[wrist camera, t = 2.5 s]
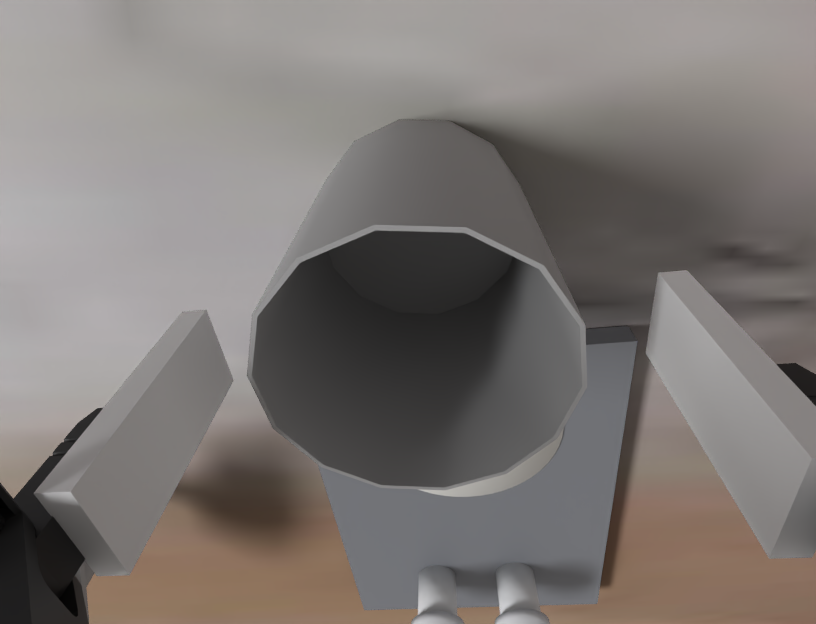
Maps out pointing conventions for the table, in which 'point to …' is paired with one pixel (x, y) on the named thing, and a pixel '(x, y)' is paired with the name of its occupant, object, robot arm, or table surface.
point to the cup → (419, 318)
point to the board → (499, 517)
